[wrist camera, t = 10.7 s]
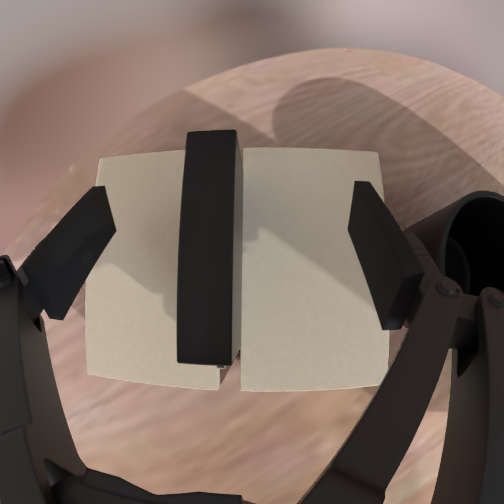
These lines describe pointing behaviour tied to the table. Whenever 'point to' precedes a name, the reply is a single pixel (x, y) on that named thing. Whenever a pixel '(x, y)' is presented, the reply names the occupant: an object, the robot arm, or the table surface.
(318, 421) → the table surface
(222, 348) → the dough scraper
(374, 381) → the split beige slab
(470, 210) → the mug
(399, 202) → the table surface
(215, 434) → the table surface
